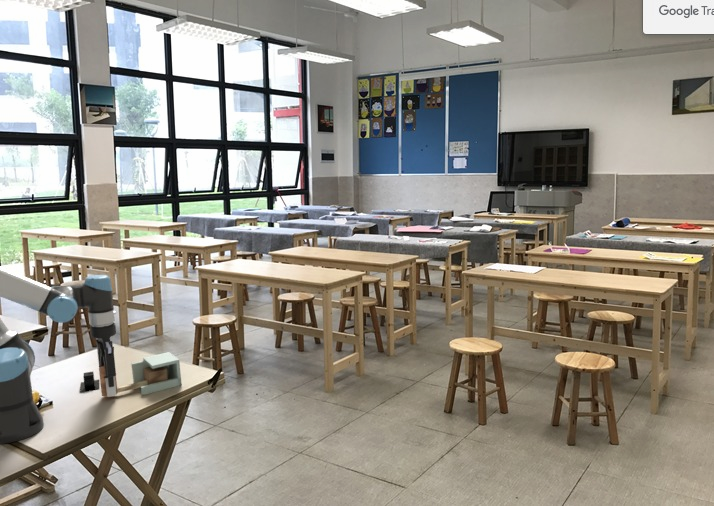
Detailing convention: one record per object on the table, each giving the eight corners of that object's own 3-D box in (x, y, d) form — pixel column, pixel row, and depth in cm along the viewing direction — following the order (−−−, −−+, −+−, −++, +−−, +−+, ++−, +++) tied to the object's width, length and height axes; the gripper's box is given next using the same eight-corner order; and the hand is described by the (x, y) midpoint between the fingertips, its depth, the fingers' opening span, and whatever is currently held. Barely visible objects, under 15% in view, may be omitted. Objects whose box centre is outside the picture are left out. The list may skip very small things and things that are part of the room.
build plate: (101, 392, 201) (100, 378, 201) (76, 396, 199) (74, 382, 198) (101, 379, 213) (100, 365, 213) (77, 383, 211) (76, 369, 210)
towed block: (104, 398, 191) (101, 371, 190) (99, 392, 196) (97, 366, 194) (167, 383, 203) (165, 357, 201) (162, 378, 207) (160, 353, 206)
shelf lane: (142, 395, 196) (139, 368, 194) (133, 385, 204) (131, 360, 203) (181, 384, 203) (179, 359, 202) (171, 376, 211) (169, 351, 210)
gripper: (122, 327, 186) (129, 398, 190) (108, 316, 200) (114, 382, 204) (96, 332, 182) (104, 404, 185) (84, 320, 196) (91, 387, 200)
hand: (109, 393), depth 195 cm, fingers closed on towed block, 5 cm apart
